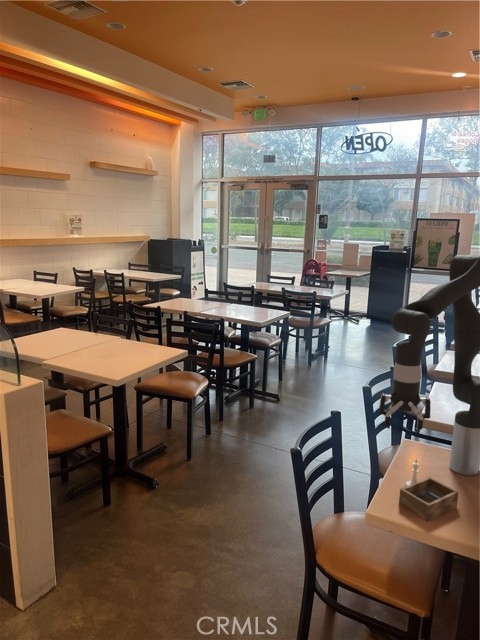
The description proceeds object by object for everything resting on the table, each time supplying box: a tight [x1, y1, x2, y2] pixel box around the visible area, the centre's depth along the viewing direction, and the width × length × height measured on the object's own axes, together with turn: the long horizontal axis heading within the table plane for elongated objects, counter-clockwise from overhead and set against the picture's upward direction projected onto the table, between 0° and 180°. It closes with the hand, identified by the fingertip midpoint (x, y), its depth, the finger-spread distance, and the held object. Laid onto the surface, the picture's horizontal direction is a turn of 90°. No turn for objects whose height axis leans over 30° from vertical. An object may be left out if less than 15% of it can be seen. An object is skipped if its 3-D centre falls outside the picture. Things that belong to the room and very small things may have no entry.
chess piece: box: [405, 457, 420, 487], centre depth 149 cm, size 5×5×10 cm
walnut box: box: [398, 476, 459, 522], centre depth 139 cm, size 14×10×5 cm
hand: (403, 428), depth 138 cm, fingers open, 8 cm apart
